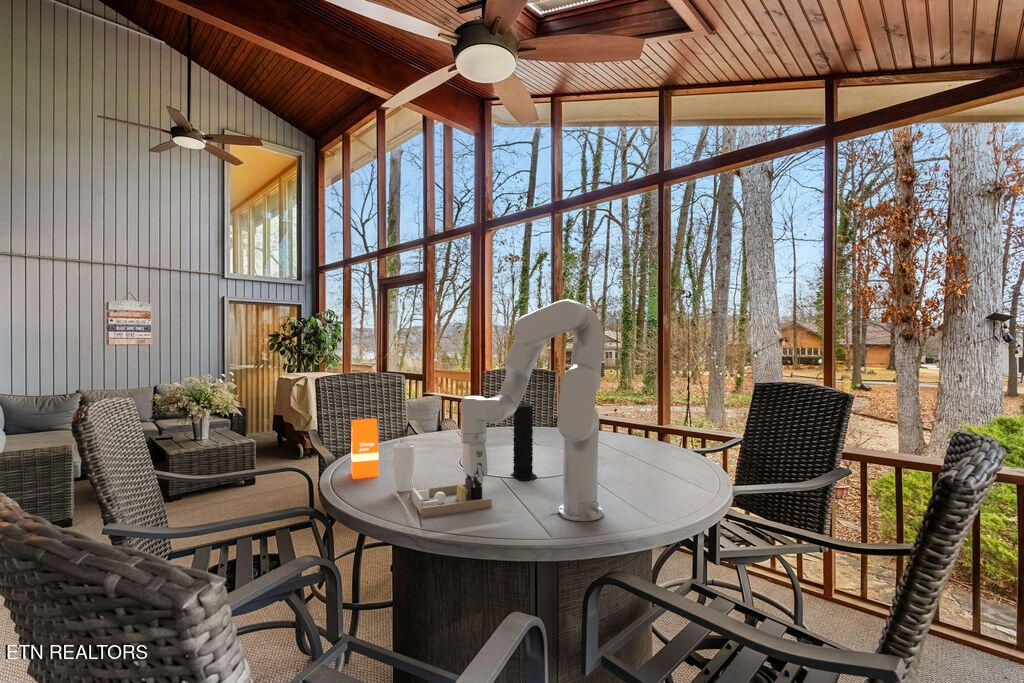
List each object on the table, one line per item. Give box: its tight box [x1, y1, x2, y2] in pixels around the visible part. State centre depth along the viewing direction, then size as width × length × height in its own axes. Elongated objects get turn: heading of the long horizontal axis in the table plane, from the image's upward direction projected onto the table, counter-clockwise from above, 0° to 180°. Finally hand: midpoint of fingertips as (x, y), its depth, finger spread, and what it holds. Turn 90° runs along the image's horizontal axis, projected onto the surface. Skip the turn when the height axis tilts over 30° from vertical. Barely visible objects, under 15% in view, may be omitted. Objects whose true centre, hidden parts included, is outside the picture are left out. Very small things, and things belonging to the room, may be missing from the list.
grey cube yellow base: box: [456, 477, 477, 502], centre depth 152 cm, size 5×7×6 cm
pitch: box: [409, 483, 493, 518], centre depth 149 cm, size 17×20×3 cm
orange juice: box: [350, 418, 380, 480], centre depth 181 cm, size 8×9×20 cm
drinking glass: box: [392, 442, 415, 494], centre depth 162 cm, size 7×7×15 cm
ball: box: [433, 492, 447, 505], centre depth 148 cm, size 4×4×4 cm
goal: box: [411, 487, 439, 514], centre depth 146 cm, size 11×5×4 cm, turn 23°
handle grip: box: [510, 402, 538, 482], centre depth 178 cm, size 10×26×10 cm
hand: (473, 497), depth 152 cm, fingers closed on grey cube yellow base, 4 cm apart
